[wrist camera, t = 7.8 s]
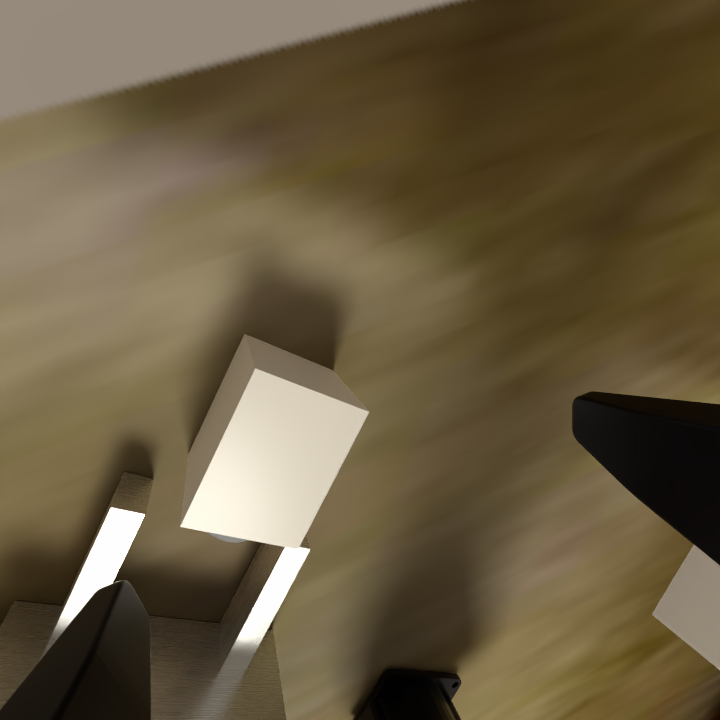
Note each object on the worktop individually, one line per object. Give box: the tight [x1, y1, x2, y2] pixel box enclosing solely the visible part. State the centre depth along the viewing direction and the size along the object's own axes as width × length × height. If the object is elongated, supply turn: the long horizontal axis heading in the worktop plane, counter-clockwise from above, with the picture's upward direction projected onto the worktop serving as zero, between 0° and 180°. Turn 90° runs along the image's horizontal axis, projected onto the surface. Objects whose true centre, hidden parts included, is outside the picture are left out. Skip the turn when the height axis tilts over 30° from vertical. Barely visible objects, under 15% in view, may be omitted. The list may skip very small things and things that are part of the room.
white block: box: [180, 334, 369, 549], centre depth 17 cm, size 4×7×5 cm, turn 152°
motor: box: [0, 472, 310, 720], centre depth 17 cm, size 14×14×6 cm
